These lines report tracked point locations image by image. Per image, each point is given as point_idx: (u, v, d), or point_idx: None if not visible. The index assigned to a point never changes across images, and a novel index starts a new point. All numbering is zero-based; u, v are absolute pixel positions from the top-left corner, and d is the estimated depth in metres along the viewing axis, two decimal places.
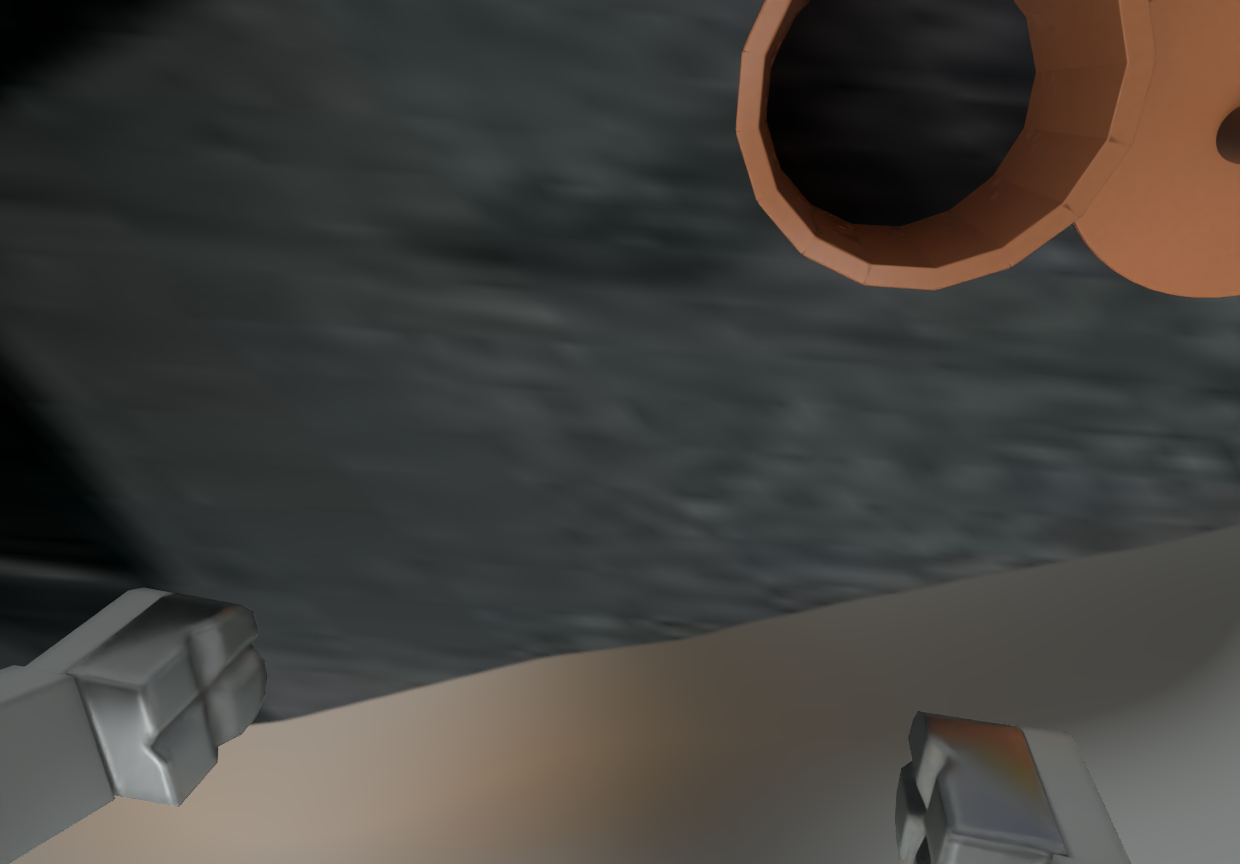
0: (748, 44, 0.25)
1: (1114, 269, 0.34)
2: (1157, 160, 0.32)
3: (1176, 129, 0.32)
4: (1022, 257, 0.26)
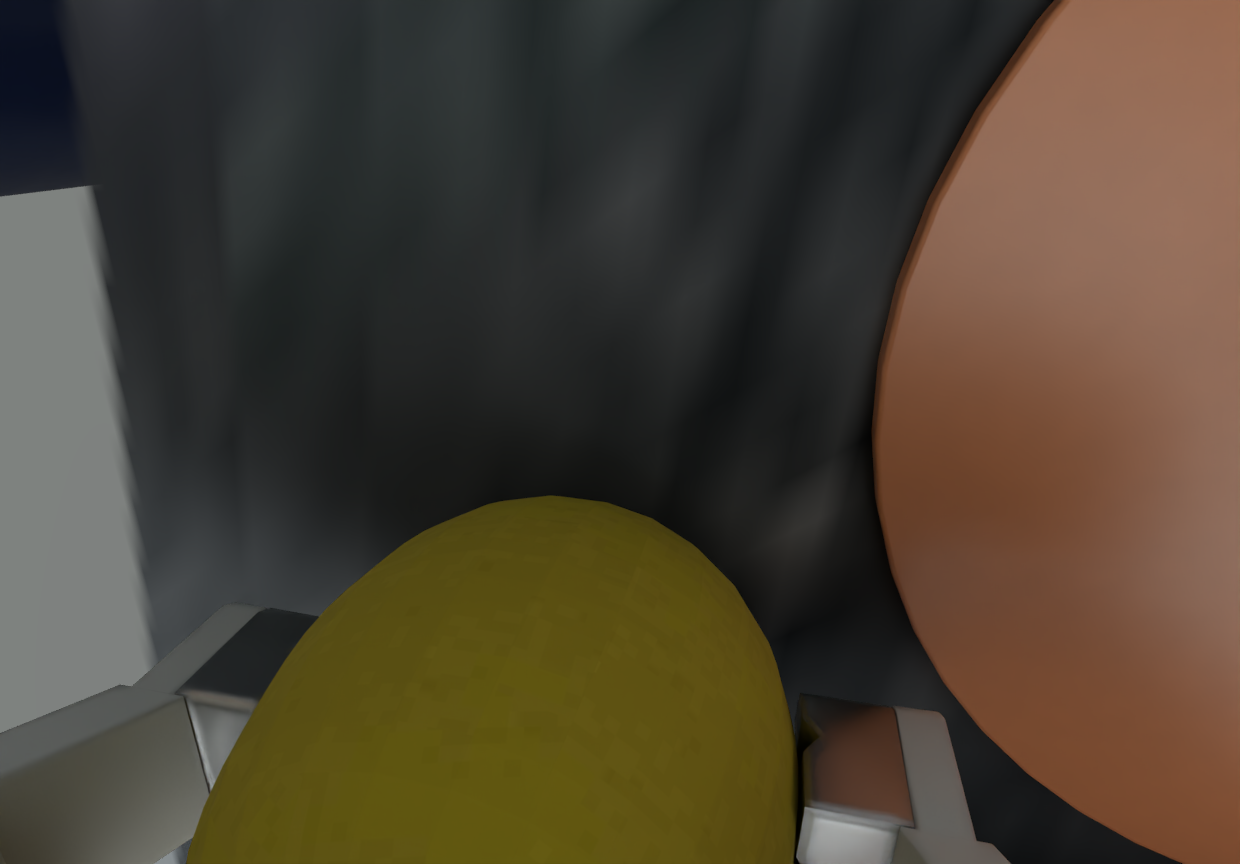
0: None
1: None
2: None
3: None
4: None
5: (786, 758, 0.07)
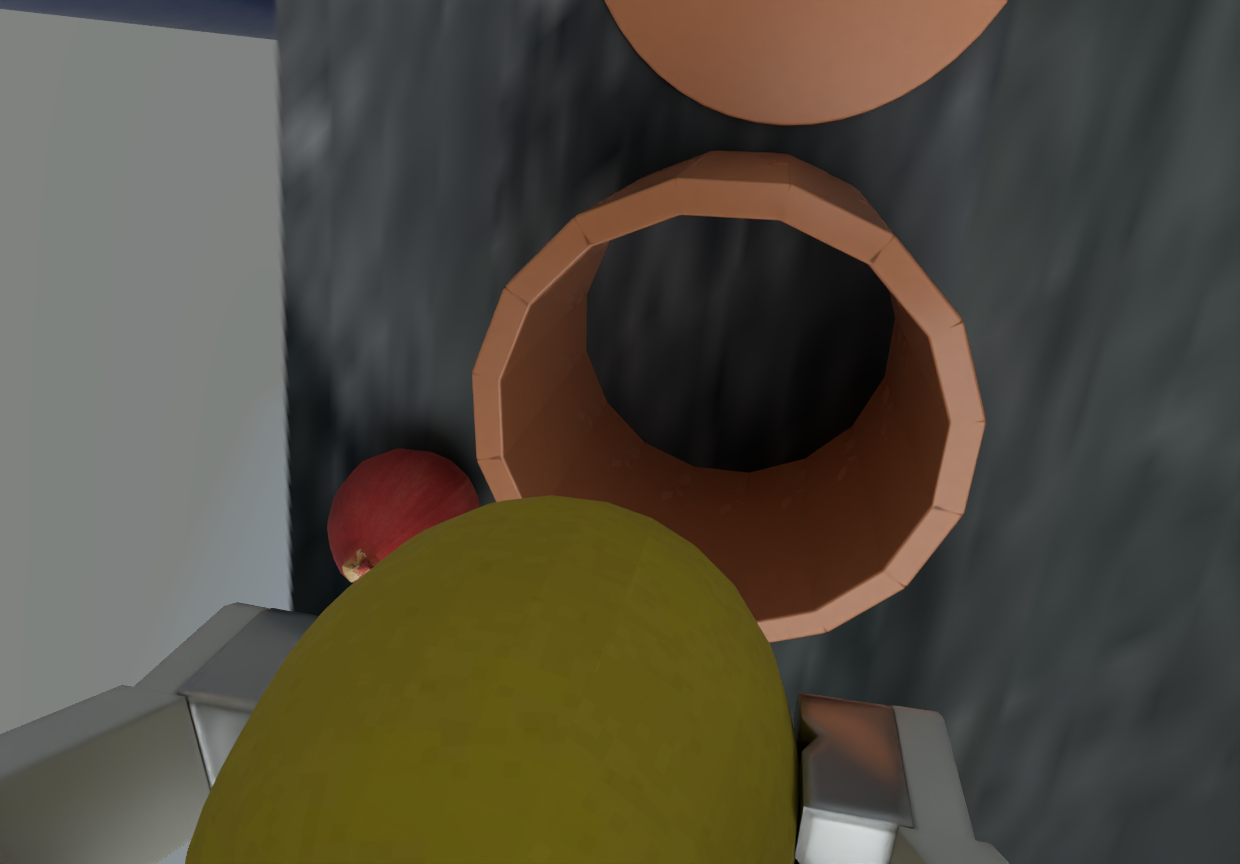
0: None
1: (999, 9, 0.22)
2: None
3: None
4: (948, 308, 0.17)
5: (787, 759, 0.07)
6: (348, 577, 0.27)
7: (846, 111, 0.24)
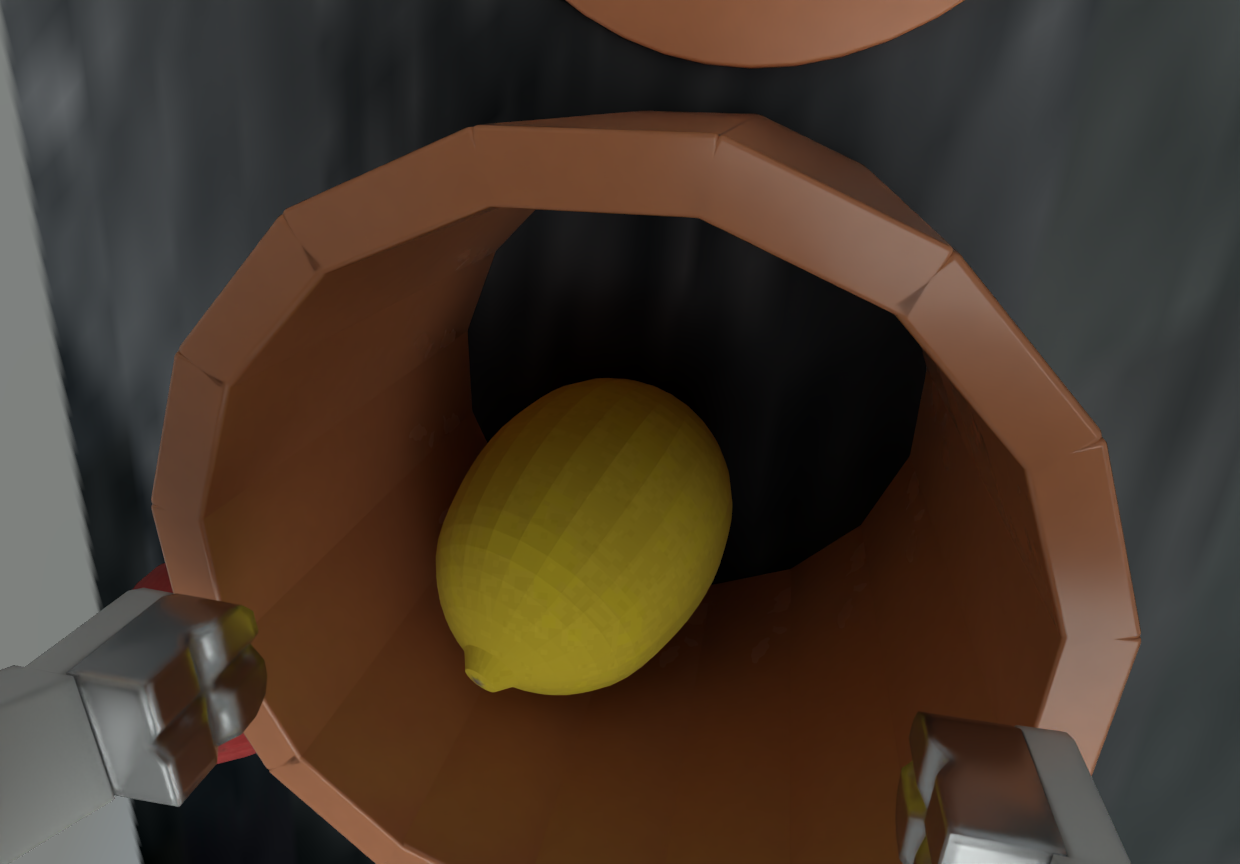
0: None
1: None
2: None
3: None
4: (1074, 411, 0.08)
5: (697, 538, 0.14)
6: None
7: (850, 42, 0.15)
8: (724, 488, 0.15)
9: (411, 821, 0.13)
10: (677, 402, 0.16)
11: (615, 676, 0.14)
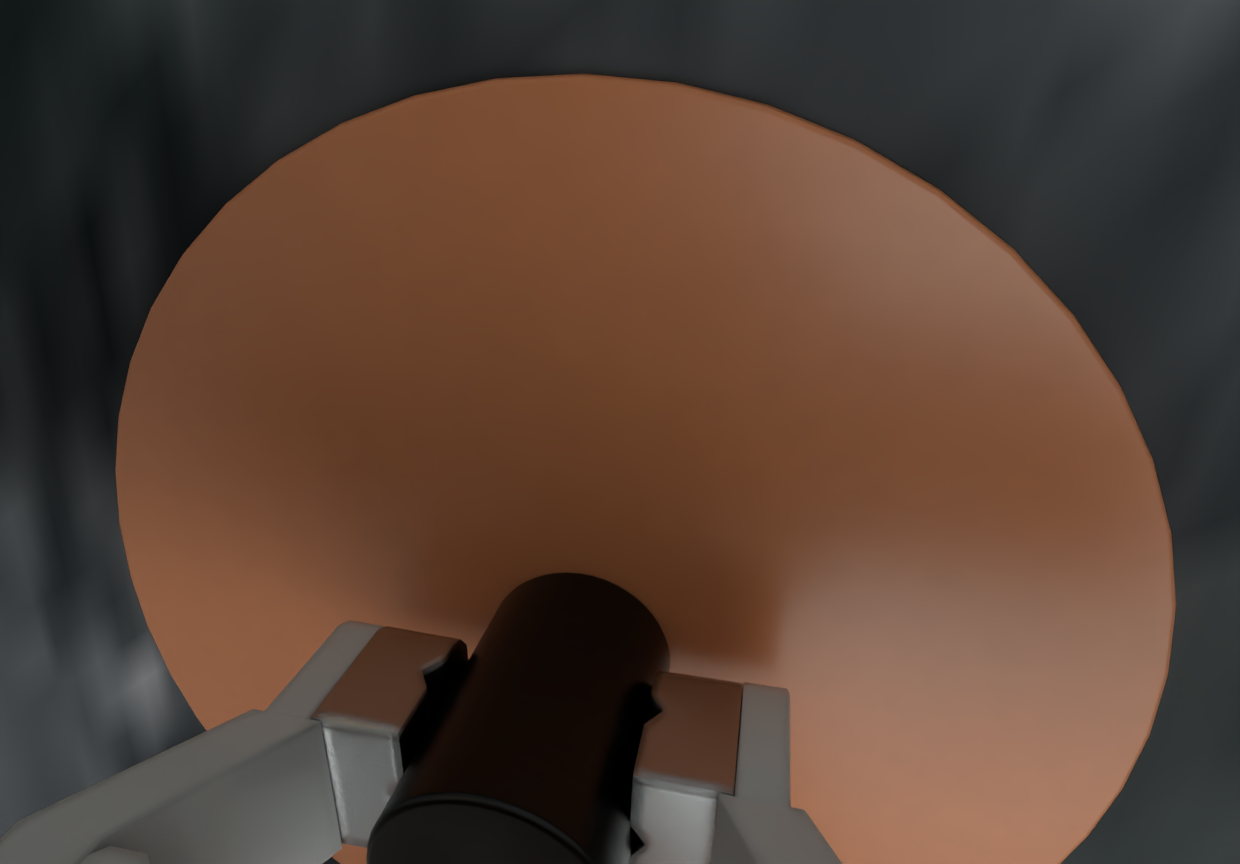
0: None
1: None
2: None
3: None
4: None
5: None
6: None
7: None
8: None
9: None
10: None
11: None
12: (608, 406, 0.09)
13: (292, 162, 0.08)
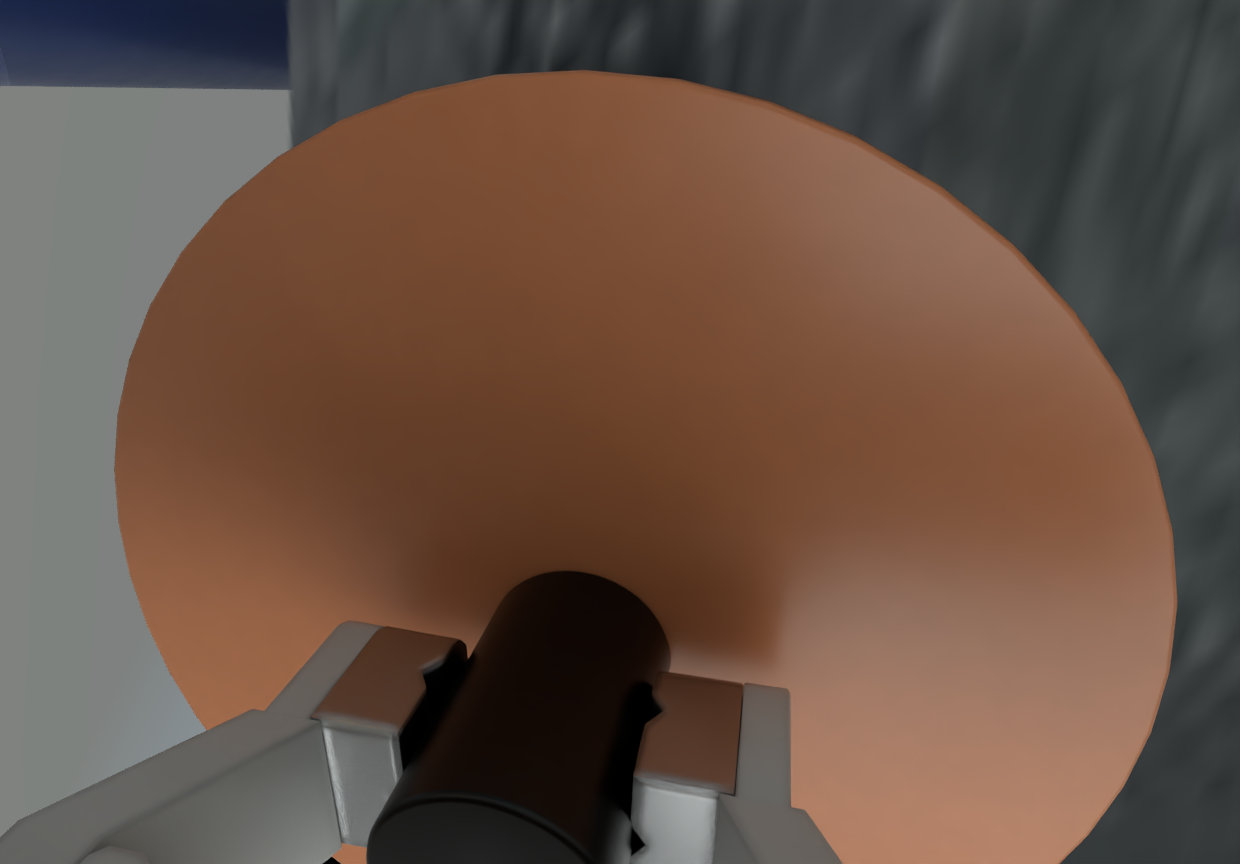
0: None
1: None
2: None
3: None
4: None
5: None
6: None
7: None
8: None
9: None
10: None
11: None
12: (610, 404, 0.09)
13: (291, 160, 0.08)
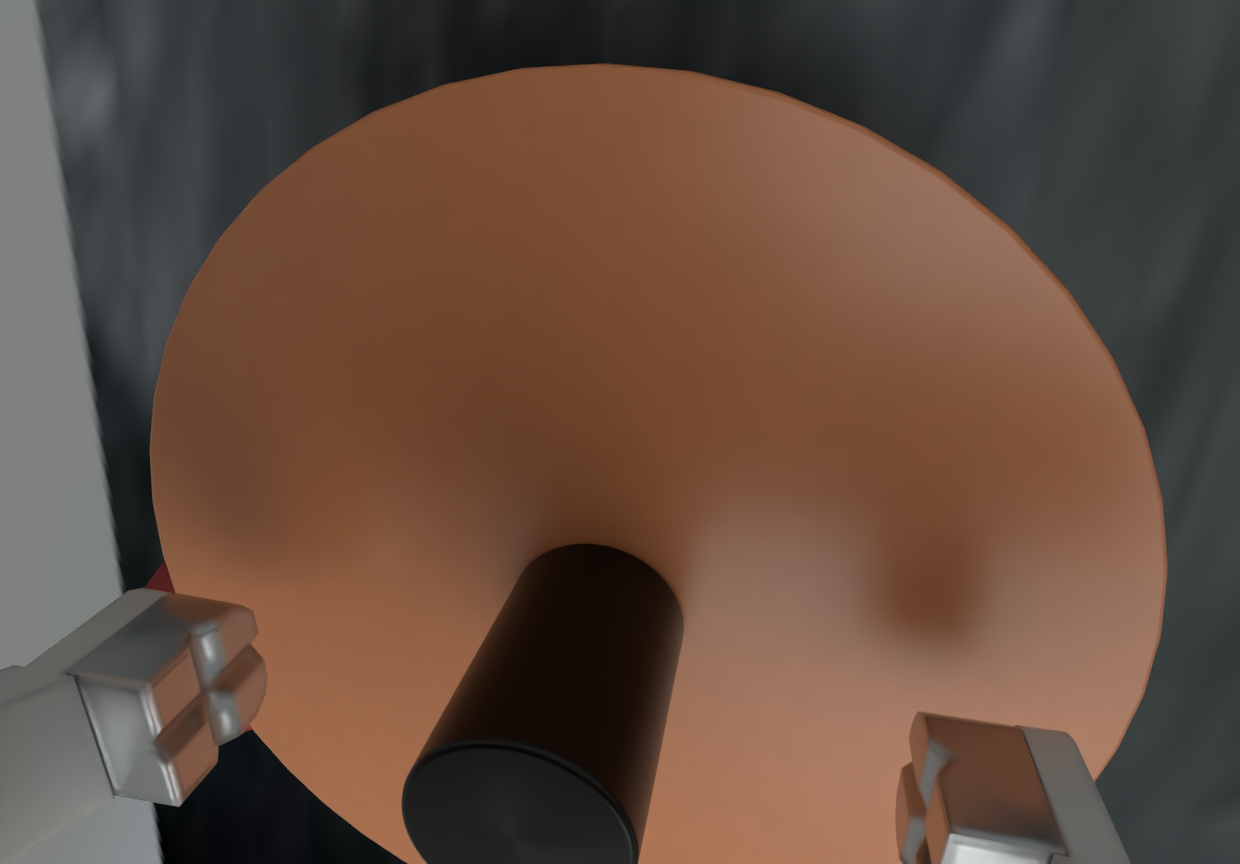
0: None
1: None
2: (672, 794, 0.12)
3: None
4: None
5: None
6: None
7: None
8: None
9: None
10: None
11: None
12: (626, 382, 0.09)
13: (326, 150, 0.09)
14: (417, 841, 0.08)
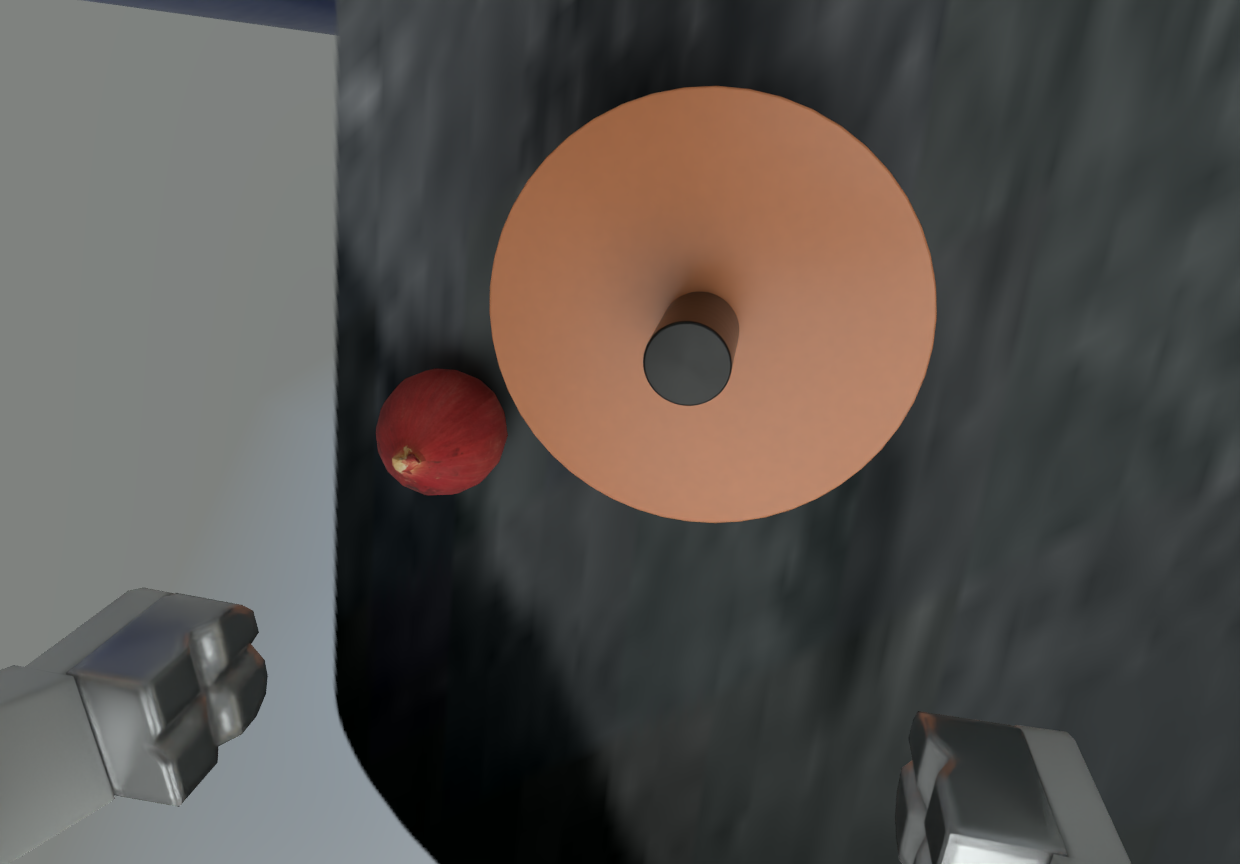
0: None
1: (877, 451, 0.24)
2: (730, 424, 0.25)
3: (693, 410, 0.25)
4: None
5: None
6: (397, 468, 0.32)
7: (743, 516, 0.26)
8: None
9: None
10: None
11: None
12: (718, 214, 0.22)
13: (600, 119, 0.22)
14: (648, 373, 0.21)
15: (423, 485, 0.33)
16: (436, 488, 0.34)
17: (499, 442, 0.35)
